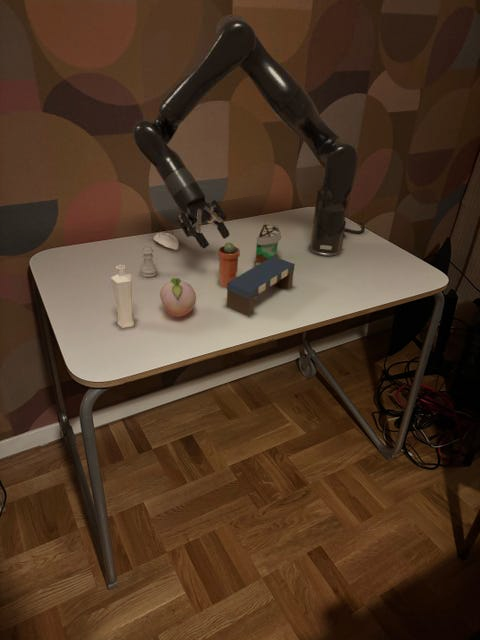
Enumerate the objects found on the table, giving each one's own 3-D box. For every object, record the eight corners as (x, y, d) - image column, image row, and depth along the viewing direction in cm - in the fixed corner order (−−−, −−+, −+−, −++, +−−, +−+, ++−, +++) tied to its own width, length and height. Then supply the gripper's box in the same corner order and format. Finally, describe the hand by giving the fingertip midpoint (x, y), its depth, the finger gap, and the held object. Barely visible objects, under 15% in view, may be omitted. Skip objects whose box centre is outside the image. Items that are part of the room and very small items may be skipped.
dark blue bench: (271, 278, 141) (273, 256, 137) (292, 287, 137) (295, 264, 133) (226, 306, 127) (226, 282, 123) (248, 317, 124) (250, 292, 120)
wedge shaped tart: (275, 272, 144) (278, 240, 138) (254, 269, 145) (256, 237, 139) (281, 254, 154) (284, 223, 148) (261, 251, 155) (263, 221, 149)
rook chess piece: (160, 272, 141) (158, 246, 136) (151, 279, 137) (149, 252, 133) (146, 269, 142) (145, 243, 138) (137, 275, 139) (135, 249, 134)
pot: (228, 276, 141) (230, 236, 134) (242, 284, 137) (244, 244, 131) (213, 282, 137) (213, 242, 131) (226, 290, 134) (228, 249, 127)
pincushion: (185, 249, 154) (184, 231, 151) (167, 253, 151) (167, 236, 148) (164, 235, 162) (163, 218, 159) (147, 239, 158) (146, 222, 155)
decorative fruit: (200, 322, 121) (200, 286, 115) (167, 328, 118) (165, 291, 113) (190, 303, 128) (189, 268, 122) (158, 307, 125) (156, 272, 120)
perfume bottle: (117, 318, 121) (111, 262, 113) (135, 317, 121) (131, 262, 113) (114, 328, 117) (108, 271, 109) (134, 328, 117) (129, 271, 109)
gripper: (172, 188, 125) (207, 244, 126) (209, 175, 135) (241, 227, 135) (158, 203, 131) (191, 256, 131) (194, 190, 140) (225, 240, 141)
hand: (216, 242), depth 133 cm, fingers open, 8 cm apart
